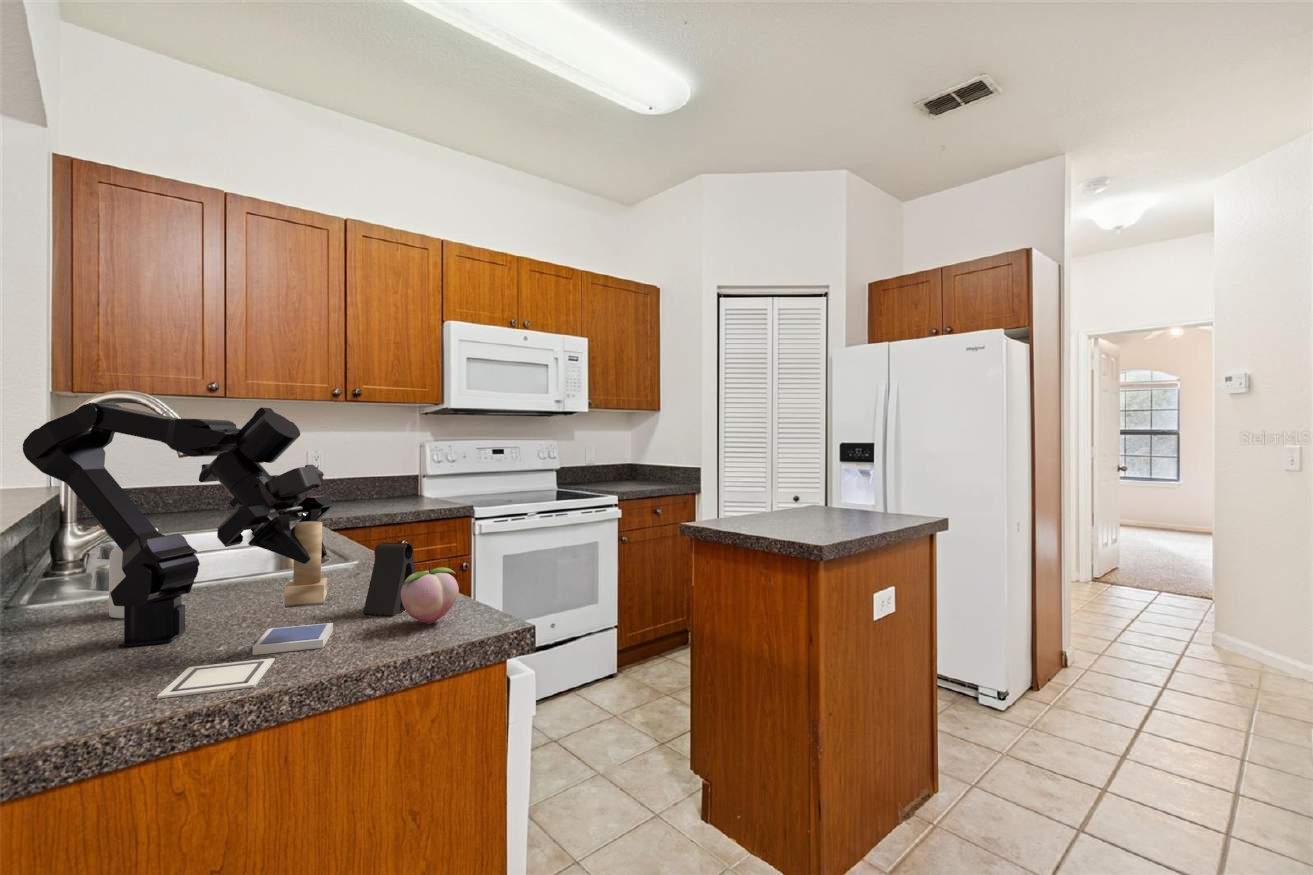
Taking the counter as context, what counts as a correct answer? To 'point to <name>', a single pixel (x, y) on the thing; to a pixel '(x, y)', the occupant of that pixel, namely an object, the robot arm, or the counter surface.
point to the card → (217, 678)
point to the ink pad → (293, 638)
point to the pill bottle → (115, 580)
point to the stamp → (307, 569)
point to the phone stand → (389, 578)
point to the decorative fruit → (429, 594)
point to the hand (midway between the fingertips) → (316, 559)
